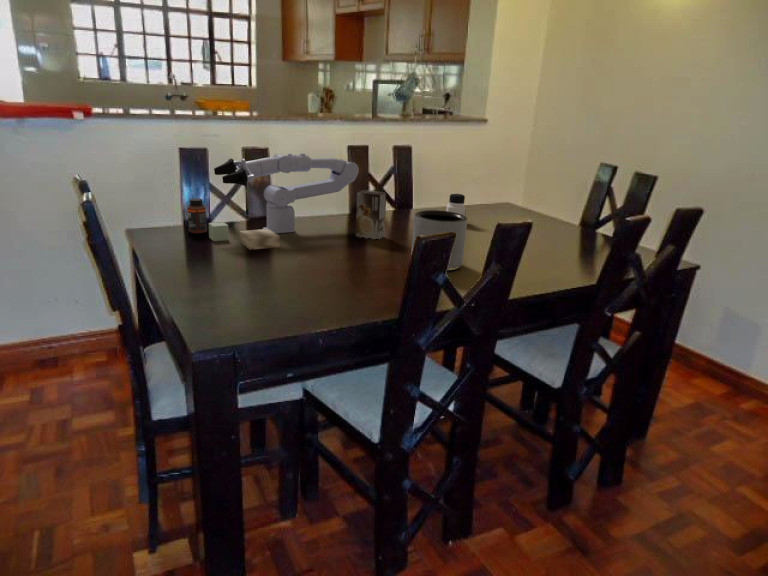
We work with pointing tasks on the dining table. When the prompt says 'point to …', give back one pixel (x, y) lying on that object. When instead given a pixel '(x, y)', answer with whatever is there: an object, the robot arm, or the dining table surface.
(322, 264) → the dining table surface
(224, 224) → the sage cube
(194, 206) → the supplement bottle
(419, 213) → the planter
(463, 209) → the medicine bottle
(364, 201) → the coffee box
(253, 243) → the birch base
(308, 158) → the robot arm
